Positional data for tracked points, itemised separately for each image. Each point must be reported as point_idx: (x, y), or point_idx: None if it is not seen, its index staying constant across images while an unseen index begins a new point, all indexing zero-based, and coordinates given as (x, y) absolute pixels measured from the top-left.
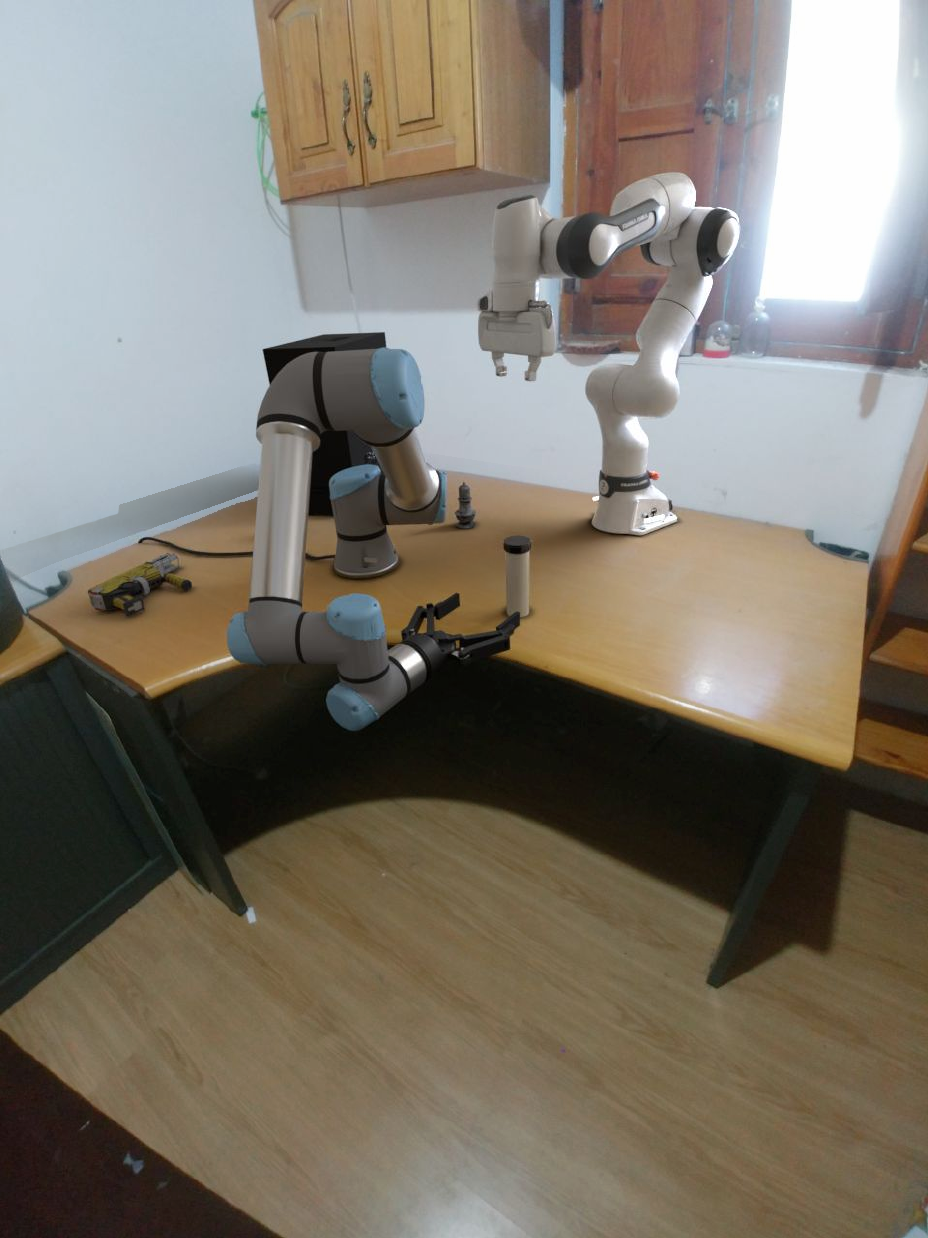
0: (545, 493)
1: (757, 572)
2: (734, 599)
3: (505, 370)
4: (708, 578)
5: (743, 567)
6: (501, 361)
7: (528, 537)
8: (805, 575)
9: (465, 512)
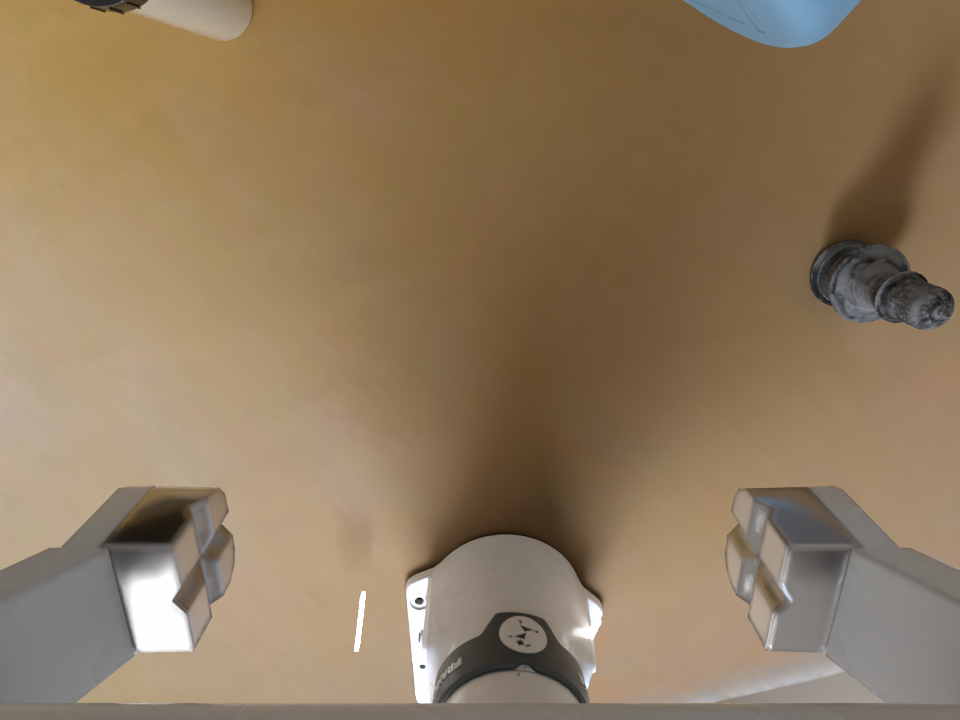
0: None
1: None
2: (14, 477)
3: (750, 597)
4: None
5: None
6: (904, 685)
7: (92, 3)
8: None
9: (856, 272)
